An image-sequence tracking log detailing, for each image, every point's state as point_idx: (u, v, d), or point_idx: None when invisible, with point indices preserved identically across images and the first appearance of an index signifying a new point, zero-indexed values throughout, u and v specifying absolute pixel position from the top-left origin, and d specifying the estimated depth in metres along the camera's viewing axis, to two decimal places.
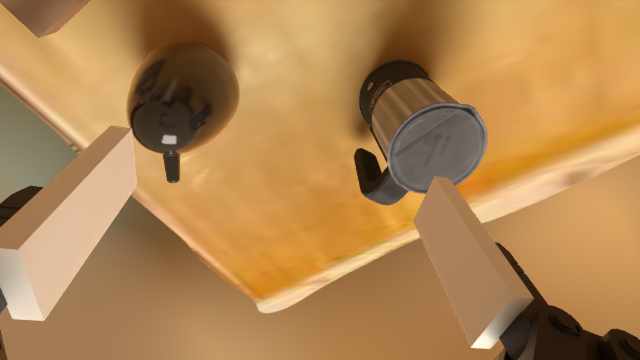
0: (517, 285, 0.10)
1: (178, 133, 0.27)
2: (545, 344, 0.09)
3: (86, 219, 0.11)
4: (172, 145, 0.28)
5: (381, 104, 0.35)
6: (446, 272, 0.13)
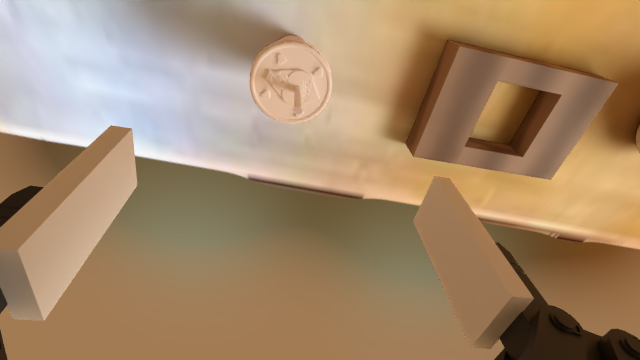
0: (517, 285, 0.10)
1: None
2: (545, 344, 0.09)
3: (86, 220, 0.11)
4: None
5: None
6: (446, 272, 0.13)
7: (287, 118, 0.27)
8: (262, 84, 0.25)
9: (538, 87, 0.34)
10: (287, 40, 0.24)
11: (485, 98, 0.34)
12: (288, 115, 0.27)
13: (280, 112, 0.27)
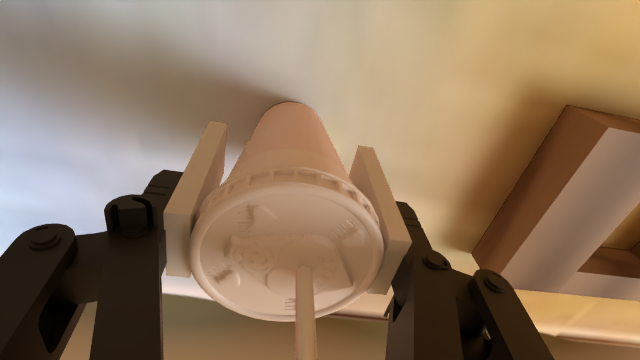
0: (400, 231, 0.11)
1: None
2: (422, 287, 0.10)
3: None
4: None
5: None
6: None
7: (280, 314, 0.12)
8: (218, 264, 0.11)
9: None
10: (278, 170, 0.10)
11: (630, 206, 0.19)
12: (281, 308, 0.12)
13: (264, 306, 0.12)
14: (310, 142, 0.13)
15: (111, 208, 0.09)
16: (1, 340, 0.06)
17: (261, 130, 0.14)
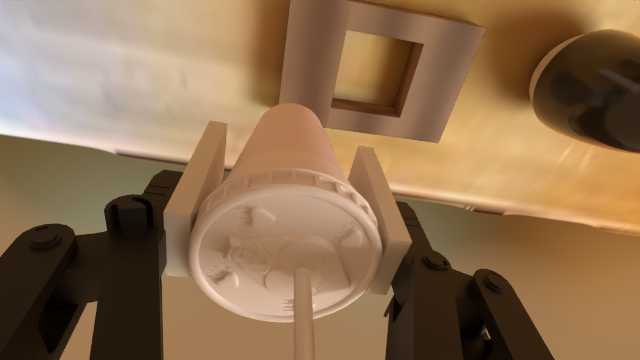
0: (400, 231, 0.11)
1: None
2: (422, 287, 0.10)
3: None
4: None
5: None
6: None
7: (279, 315, 0.12)
8: (217, 265, 0.11)
9: (395, 35, 0.31)
10: (276, 172, 0.10)
11: (338, 50, 0.31)
12: (280, 309, 0.12)
13: (263, 306, 0.12)
14: (309, 143, 0.13)
15: (111, 208, 0.09)
16: (1, 340, 0.06)
17: (260, 131, 0.15)
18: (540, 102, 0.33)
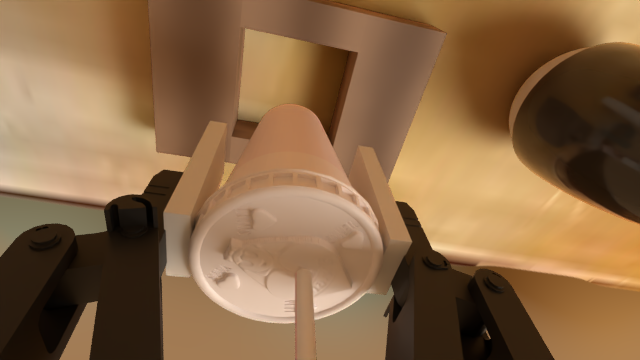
0: (400, 231, 0.11)
1: None
2: (422, 287, 0.10)
3: (207, 198, 0.13)
4: None
5: None
6: None
7: (280, 316, 0.12)
8: (218, 266, 0.11)
9: (314, 39, 0.21)
10: (277, 173, 0.10)
11: (232, 57, 0.21)
12: (281, 311, 0.12)
13: (264, 308, 0.12)
14: (309, 144, 0.13)
15: (111, 207, 0.09)
16: (1, 340, 0.06)
17: (261, 132, 0.15)
18: (522, 140, 0.24)
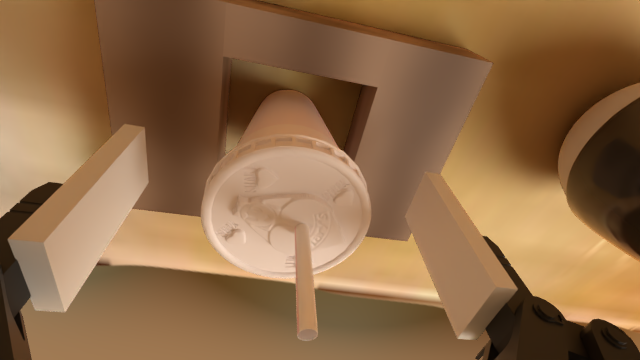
0: (502, 276, 0.10)
1: None
2: (529, 335, 0.09)
3: (102, 215, 0.11)
4: None
5: None
6: (435, 265, 0.13)
7: (281, 271, 0.14)
8: (227, 222, 0.12)
9: (320, 71, 0.16)
10: (278, 137, 0.11)
11: (213, 95, 0.16)
12: (282, 266, 0.14)
13: (267, 263, 0.14)
14: (306, 120, 0.14)
15: None
16: None
17: (261, 112, 0.16)
18: (582, 193, 0.19)
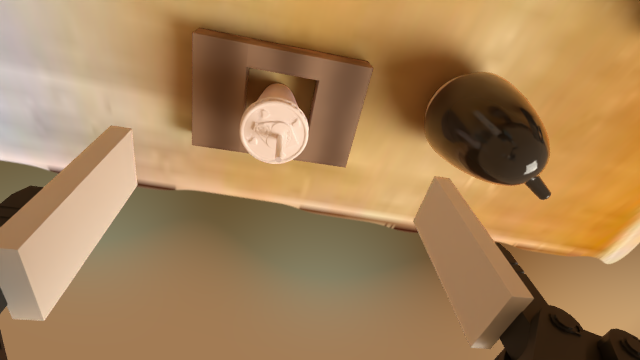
0: (517, 285, 0.10)
1: (544, 154, 0.28)
2: (545, 344, 0.09)
3: (86, 220, 0.11)
4: (543, 167, 0.28)
5: None
6: (446, 271, 0.13)
7: (272, 159, 0.32)
8: (250, 134, 0.31)
9: (291, 73, 0.34)
10: (270, 98, 0.30)
11: (241, 85, 0.35)
12: (272, 157, 0.32)
13: (266, 155, 0.32)
14: (283, 95, 0.33)
15: None
16: None
17: (263, 92, 0.34)
18: (428, 134, 0.37)
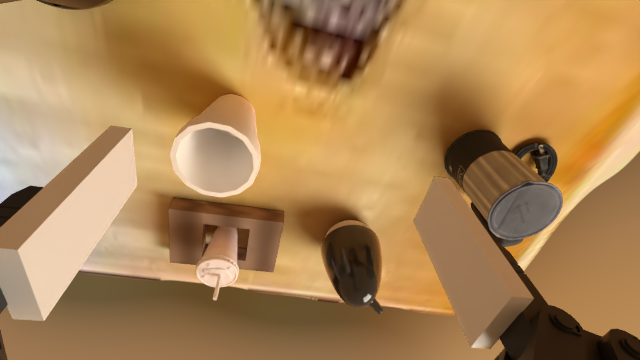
0: (517, 285, 0.10)
1: (369, 295, 0.48)
2: (545, 344, 0.09)
3: (86, 220, 0.11)
4: (370, 301, 0.49)
5: (466, 189, 0.48)
6: (446, 272, 0.13)
7: None
8: (201, 273, 0.51)
9: (231, 226, 0.55)
10: (213, 255, 0.50)
11: (200, 232, 0.55)
12: None
13: (212, 283, 0.52)
14: (224, 244, 0.53)
15: None
16: None
17: (214, 237, 0.55)
18: None
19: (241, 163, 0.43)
